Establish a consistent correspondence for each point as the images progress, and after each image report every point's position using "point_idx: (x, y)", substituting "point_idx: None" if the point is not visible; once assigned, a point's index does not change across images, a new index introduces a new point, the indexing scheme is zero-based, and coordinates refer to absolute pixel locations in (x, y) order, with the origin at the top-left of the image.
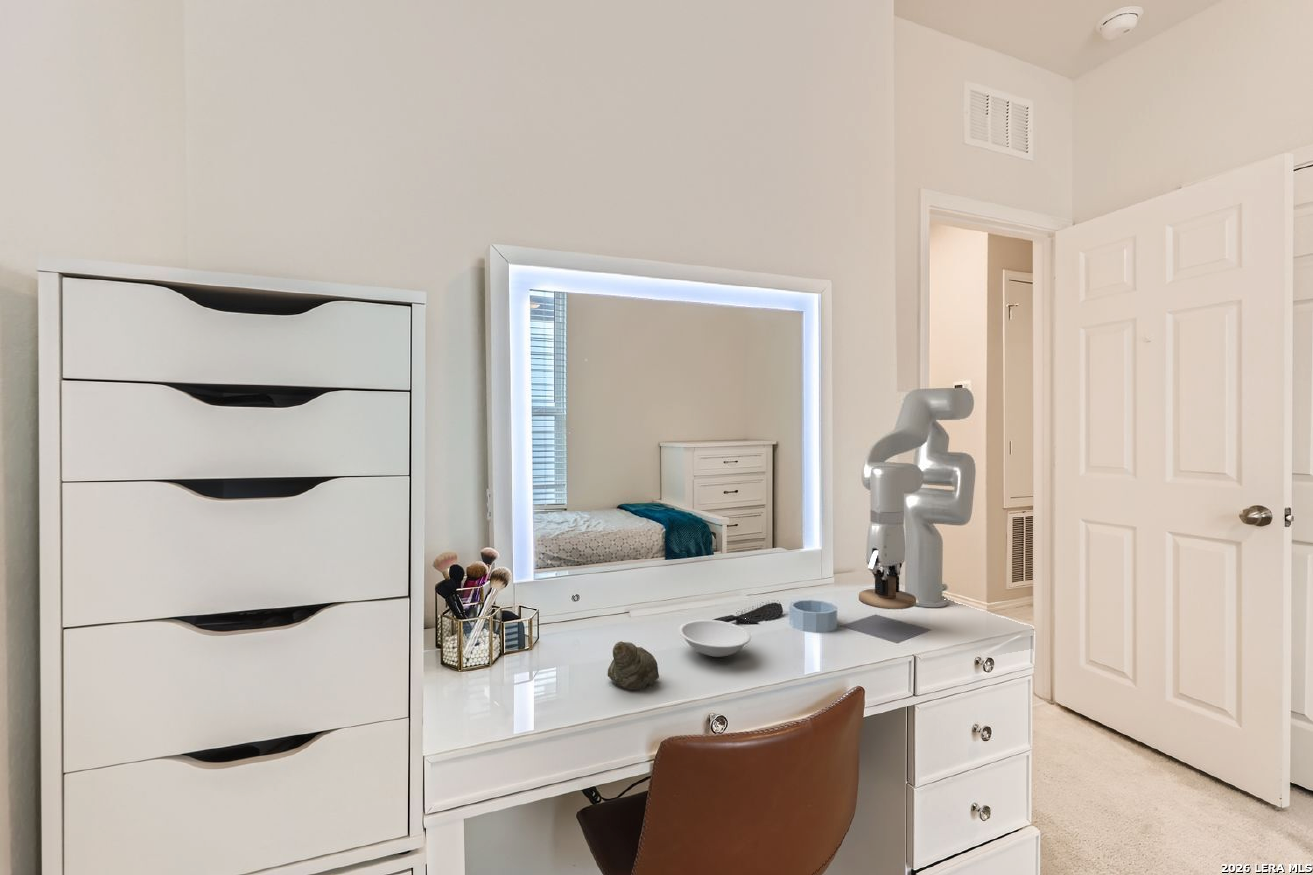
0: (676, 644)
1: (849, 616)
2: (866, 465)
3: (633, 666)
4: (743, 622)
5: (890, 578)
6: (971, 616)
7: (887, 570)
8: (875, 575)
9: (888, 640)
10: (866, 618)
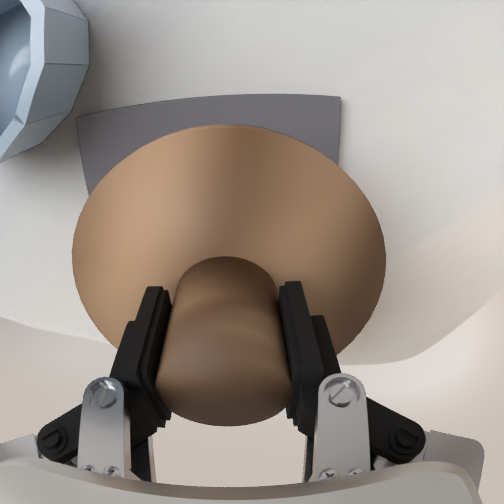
0: None
1: (240, 26)
2: None
3: None
4: None
5: (235, 409)
6: (491, 280)
7: (319, 402)
8: (76, 418)
9: None
10: (253, 104)
